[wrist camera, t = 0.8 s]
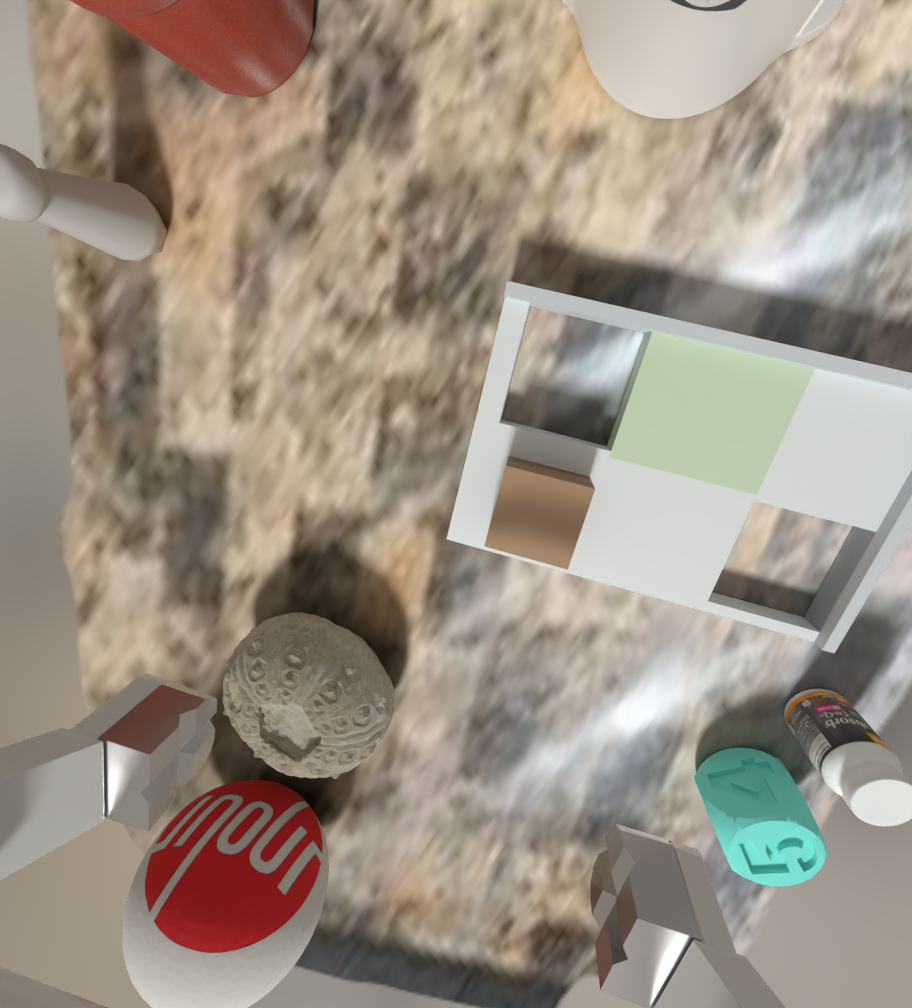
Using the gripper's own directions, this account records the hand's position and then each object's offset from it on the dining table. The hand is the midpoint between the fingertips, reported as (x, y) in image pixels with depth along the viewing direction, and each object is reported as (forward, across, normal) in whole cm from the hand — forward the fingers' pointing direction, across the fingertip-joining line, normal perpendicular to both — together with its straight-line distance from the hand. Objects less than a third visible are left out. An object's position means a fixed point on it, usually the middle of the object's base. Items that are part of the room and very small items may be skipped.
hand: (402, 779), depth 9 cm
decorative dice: (+36, -32, +26) cm, 54 cm away
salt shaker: (+35, +36, -12) cm, 52 cm away
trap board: (+35, -14, -3) cm, 38 cm away
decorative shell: (+36, +13, +28) cm, 47 cm away
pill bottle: (+36, -35, +16) cm, 52 cm away
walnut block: (+33, -4, +3) cm, 33 cm away
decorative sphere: (+36, +16, +51) cm, 65 cm away
